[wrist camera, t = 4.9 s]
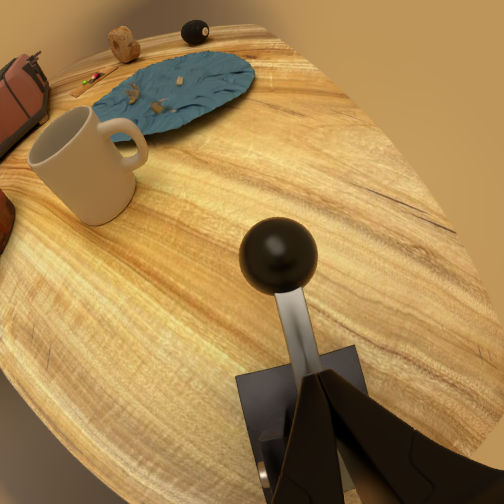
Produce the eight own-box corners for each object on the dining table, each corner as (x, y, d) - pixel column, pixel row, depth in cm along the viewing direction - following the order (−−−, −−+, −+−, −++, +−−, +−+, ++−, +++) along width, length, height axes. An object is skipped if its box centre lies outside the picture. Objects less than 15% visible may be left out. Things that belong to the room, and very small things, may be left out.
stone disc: (114, 63, 52) (101, 33, 43) (126, 56, 53) (113, 26, 44) (132, 65, 48) (118, 31, 40) (145, 57, 49) (132, 23, 41)
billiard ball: (200, 47, 47) (194, 24, 42) (179, 48, 49) (172, 26, 43) (216, 37, 49) (211, 16, 43) (195, 37, 51) (190, 17, 45)
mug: (75, 235, 28) (16, 180, 19) (84, 182, 32) (40, 126, 22) (165, 204, 28) (118, 125, 18) (163, 151, 32) (129, 80, 22)
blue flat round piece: (91, 103, 46) (80, 85, 41) (222, 46, 47) (217, 26, 43) (77, 193, 31) (55, 168, 27) (287, 102, 33) (283, 68, 28)
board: (70, 94, 49) (67, 89, 48) (108, 66, 52) (106, 61, 51) (76, 97, 47) (73, 93, 46) (117, 68, 50) (115, 63, 49)
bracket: (237, 376, 20) (191, 370, 11) (351, 346, 20) (403, 313, 10) (268, 499, 15) (249, 574, 6) (381, 468, 15) (442, 518, 5)
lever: (235, 238, 13) (225, 217, 10) (301, 222, 13) (309, 196, 10) (295, 473, 11) (300, 508, 8) (355, 456, 11) (374, 487, 8)
